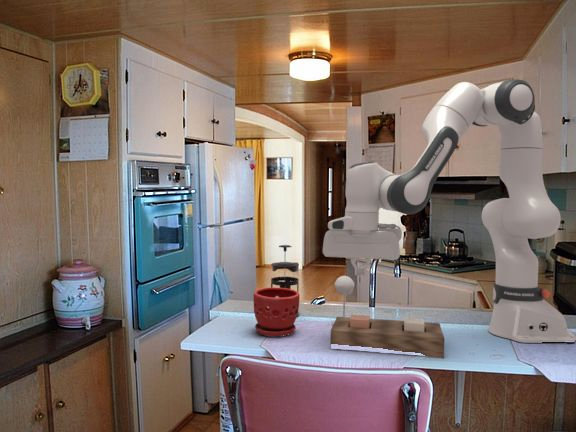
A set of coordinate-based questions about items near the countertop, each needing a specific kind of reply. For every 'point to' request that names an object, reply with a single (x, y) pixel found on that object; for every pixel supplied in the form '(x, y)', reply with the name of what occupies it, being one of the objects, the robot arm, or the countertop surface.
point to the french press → (287, 280)
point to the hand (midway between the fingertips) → (360, 274)
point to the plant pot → (276, 311)
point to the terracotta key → (360, 321)
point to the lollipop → (344, 288)
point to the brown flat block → (390, 336)
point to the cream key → (413, 324)
